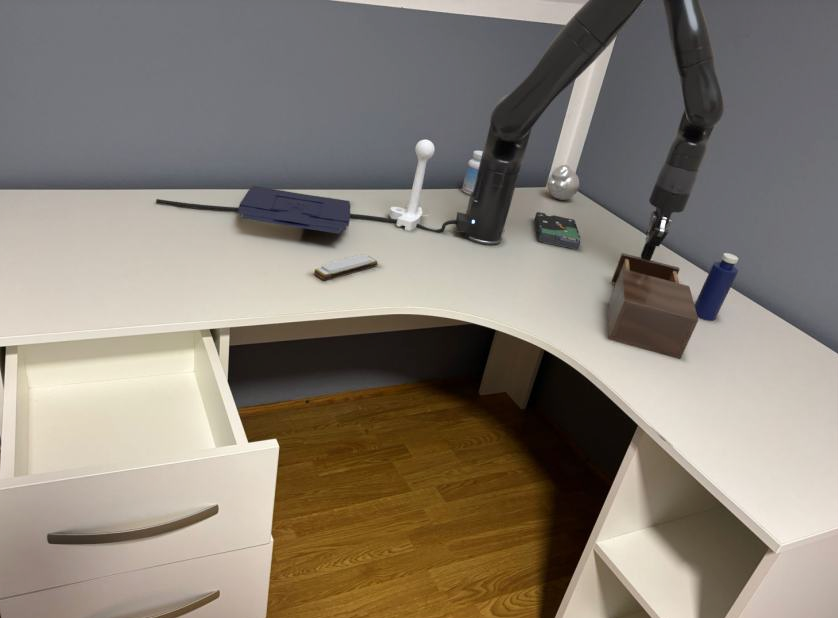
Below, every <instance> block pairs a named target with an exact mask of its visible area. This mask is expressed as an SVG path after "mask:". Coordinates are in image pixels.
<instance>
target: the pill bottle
mask: <svg viewBox="0 0 838 618" xmlns="http://www.w3.org/2000/svg"><path fill="white" fill-rule="evenodd" d="M482 153H483V150H474V151H473V153H472V158H471V159H470V160H469V161H468V163H467V167H466V171H465V176H464V179H463V184H462V187H461V191H462V192H463V193H465V194H466V195H471V192H473V190H474V186H475V182H476V177H477V173H478V169H479V165H480V161H481V157H482Z"/></svg>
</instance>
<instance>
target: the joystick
mask: <svg viewBox="0 0 838 618" xmlns="http://www.w3.org/2000/svg"><path fill="white" fill-rule="evenodd" d="M435 150H436V149H435V144H434V143H433V142H432V141H431V140H429V139H421V140H419V141H418V142H417V143H416V145H415V148H414V153H415V155H416V157H417V166H416V168H415V169H416V170H415V174H414V178H413V184H412V188H411V191H410V197H409V200H408V204H406V207H405V208H404V207H401V206H391V207H390V209H389V216H388V217H389V218H391V219H397V223H395V224H396V225H395V226H397V227H404V231H407V232H410V231H413V230H415V229H416V228H417V227H416V225H417V224H420V225H421V220H422V214H423V208H422V207H421V206H420V202H421V195H422V189H423V185H424V180H425V172H426V167H427V162H428V161H429V160H430V159H431V158H432V157H434V154H435Z"/></svg>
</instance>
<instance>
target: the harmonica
mask: <svg viewBox="0 0 838 618" xmlns="http://www.w3.org/2000/svg"><path fill="white" fill-rule="evenodd" d="M376 266H378V260H377V259H375V258H373V257H371V256H370V255H366V254H364V253H363V254H358V255H354V256H350V257H346V258H343V259H338V260H335V261H331V262H326V263H324V264H322V265H321V267H319V268H315V269H314V273H313V274H314V275H315V276H317V277H319V279H320V280H321V279H322V280H323V281H325V280H329V279H330V280H333V279H336V278H341V277H343V276H347V275H350V274H351V275H352V274H354V273H358V272H362V271H365V270H369V269H370V268H372V267H373V268H374V267H376Z"/></svg>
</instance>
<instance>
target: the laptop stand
mask: <svg viewBox="0 0 838 618" xmlns="http://www.w3.org/2000/svg"><path fill="white" fill-rule="evenodd" d="M238 209H239V211H237V212H236V213H237V215H241V217H240V219H241V220H246V221H247V220H248V221H255V222H259V223H260V222H261V223H267V224H275V225H282V226H287V227H293V228H300V229H306V230H307V229H308V230H313V231H319V232H326V233H331V234H332V233H333V234H337V235H340V234H341V230H342V231H346V230H347V227H349V226H350V225H349V224H350V218H351V217H350V214H351V202H350V200H345V199H344V200H343V199H339V198H333V197H332V198H331V197H326V196H325V197H324V196H318V195H312V194H305V193H298V192H293V191H286V190H281V189H275V188H274V189H273V188H269V187H263V186H257V185H253V186H252V187H250V188H249V189H248V191H247V192H246V193H245V195H244V196H243V198H242V199H241V201H240V202H239V205H238Z"/></svg>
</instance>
